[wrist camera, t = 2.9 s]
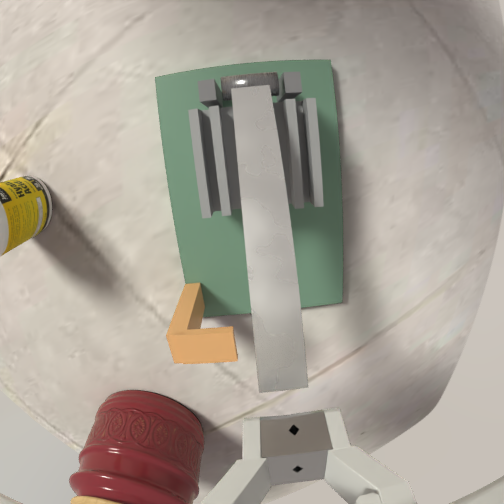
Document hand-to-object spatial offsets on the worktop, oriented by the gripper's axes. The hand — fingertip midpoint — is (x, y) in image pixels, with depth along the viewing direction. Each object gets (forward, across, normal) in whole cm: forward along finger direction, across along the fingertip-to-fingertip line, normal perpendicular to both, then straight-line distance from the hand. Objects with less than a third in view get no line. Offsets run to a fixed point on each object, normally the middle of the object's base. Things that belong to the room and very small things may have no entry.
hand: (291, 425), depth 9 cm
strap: (+8, 0, -5) cm, 9 cm away
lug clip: (+16, +4, +3) cm, 17 cm away
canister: (+17, +15, +20) cm, 31 cm away
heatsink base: (+17, 0, -4) cm, 17 cm away
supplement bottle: (+17, +20, -6) cm, 27 cm away
